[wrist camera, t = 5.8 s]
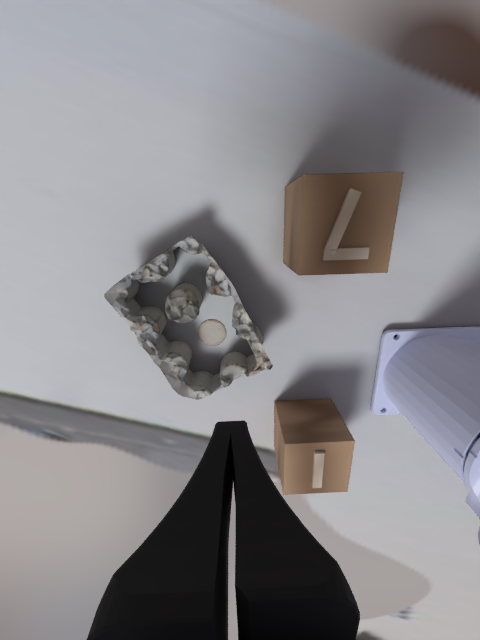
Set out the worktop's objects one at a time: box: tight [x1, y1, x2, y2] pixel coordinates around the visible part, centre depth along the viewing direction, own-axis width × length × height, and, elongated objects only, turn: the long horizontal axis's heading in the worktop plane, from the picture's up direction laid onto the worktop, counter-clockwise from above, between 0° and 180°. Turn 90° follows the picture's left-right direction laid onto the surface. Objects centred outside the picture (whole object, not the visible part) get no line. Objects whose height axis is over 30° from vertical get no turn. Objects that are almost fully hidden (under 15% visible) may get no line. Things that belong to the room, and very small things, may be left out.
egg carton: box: [104, 235, 272, 399], centre depth 19 cm, size 11×8×4 cm
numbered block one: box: [274, 398, 355, 495], centre depth 22 cm, size 5×5×5 cm
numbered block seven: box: [283, 172, 403, 275], centre depth 16 cm, size 5×5×5 cm
